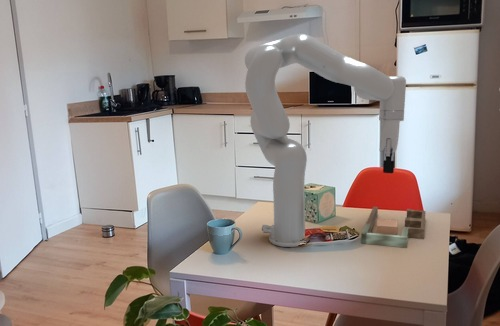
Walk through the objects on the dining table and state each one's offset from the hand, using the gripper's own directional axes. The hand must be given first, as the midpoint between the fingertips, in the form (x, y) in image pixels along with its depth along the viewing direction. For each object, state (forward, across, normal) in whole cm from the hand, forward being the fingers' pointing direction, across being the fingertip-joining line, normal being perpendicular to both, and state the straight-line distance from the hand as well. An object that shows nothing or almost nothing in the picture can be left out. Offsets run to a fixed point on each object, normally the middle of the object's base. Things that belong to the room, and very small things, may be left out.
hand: (388, 172), depth 157 cm
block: (+19, +10, +2) cm, 21 cm away
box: (+18, +2, +3) cm, 19 cm away
